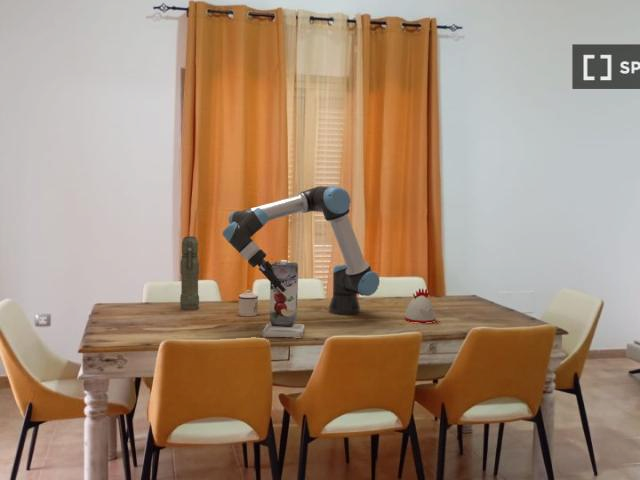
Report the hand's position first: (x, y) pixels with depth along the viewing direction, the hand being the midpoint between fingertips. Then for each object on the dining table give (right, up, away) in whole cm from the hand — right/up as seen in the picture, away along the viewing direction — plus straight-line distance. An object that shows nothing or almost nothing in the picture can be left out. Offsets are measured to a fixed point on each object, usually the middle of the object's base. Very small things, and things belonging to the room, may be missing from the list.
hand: (291, 294), depth 251 cm
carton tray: (-3, -16, +2) cm, 17 cm away
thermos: (-52, -11, +48) cm, 72 cm away
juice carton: (-3, -13, +1) cm, 13 cm away
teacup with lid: (-22, -13, +39) cm, 46 cm away
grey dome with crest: (+57, -15, +32) cm, 68 cm away
